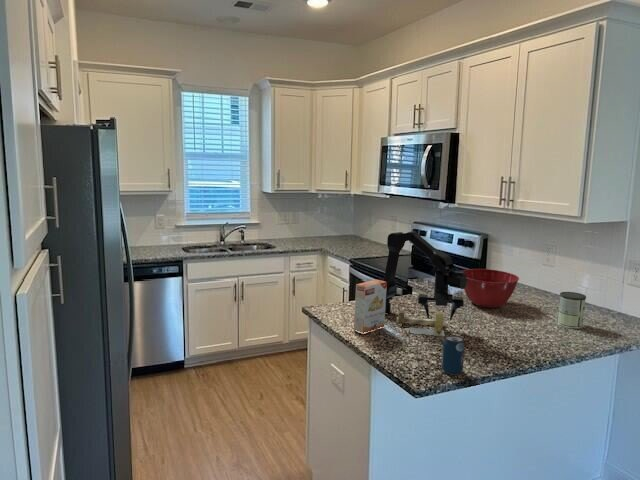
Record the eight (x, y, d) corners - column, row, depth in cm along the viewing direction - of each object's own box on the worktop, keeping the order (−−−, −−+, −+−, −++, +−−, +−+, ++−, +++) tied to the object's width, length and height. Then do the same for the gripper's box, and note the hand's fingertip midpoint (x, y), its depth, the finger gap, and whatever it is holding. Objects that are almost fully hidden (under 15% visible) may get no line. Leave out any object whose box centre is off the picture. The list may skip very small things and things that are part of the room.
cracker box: (364, 336, 191) (365, 286, 188) (353, 332, 195) (354, 283, 192) (385, 328, 200) (387, 281, 197) (374, 325, 205) (376, 278, 201)
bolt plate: (395, 332, 195) (395, 331, 195) (396, 327, 202) (396, 326, 202) (444, 337, 192) (444, 335, 192) (443, 331, 198) (443, 329, 198)
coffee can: (555, 319, 216) (558, 290, 214) (580, 322, 213) (583, 292, 211) (558, 326, 207) (562, 296, 205) (584, 330, 204) (588, 298, 201)
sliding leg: (435, 333, 195) (436, 317, 194) (434, 324, 206) (435, 309, 205) (442, 333, 195) (443, 317, 194) (441, 325, 205) (442, 310, 204)
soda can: (465, 375, 156) (468, 341, 154) (445, 376, 155) (448, 342, 153) (457, 367, 163) (460, 334, 161) (438, 367, 162) (440, 334, 160)
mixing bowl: (517, 315, 222) (520, 284, 220) (456, 308, 232) (458, 278, 229) (515, 300, 248) (517, 271, 246) (459, 294, 258) (461, 266, 256)
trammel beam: (395, 329, 199) (396, 316, 198) (396, 321, 210) (397, 308, 209) (443, 333, 196) (444, 319, 195) (442, 325, 206) (443, 312, 205)
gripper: (419, 287, 191) (417, 324, 194) (466, 290, 188) (463, 327, 190) (418, 281, 202) (417, 315, 205) (463, 284, 199) (460, 319, 201)
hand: (439, 319), depth 200 cm, fingers open, 9 cm apart
